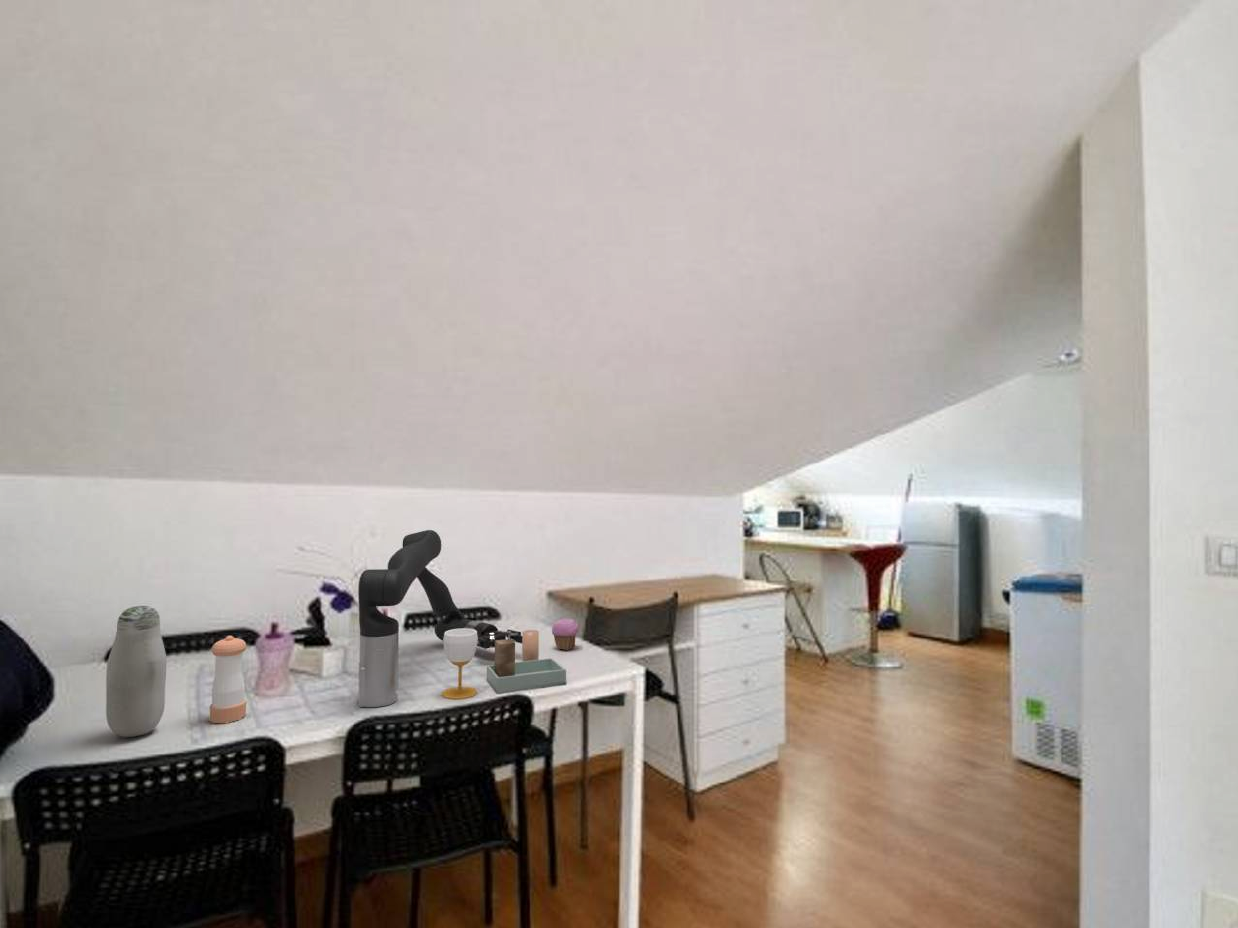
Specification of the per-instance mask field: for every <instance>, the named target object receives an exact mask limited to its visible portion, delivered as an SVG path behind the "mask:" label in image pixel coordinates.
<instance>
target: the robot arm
mask: <svg viewBox="0 0 1238 928" xmlns="http://www.w3.org/2000/svg"><path fill="white" fill-rule="evenodd" d="M441 551H442V539H441V537H440V535H439V533H438V532H436V530H432V529H427V530H422V531H418V532H414V533H410V534H406V535H405V536H404V537H403V538H402V547H401V548H399V549H398V550H397V551H395V553H394V554H392V556H391V557H390V559H389V561H388V562H387V569H383V568H382V569H380V568H379V569H377V568H375V569H374V568H373V569H366V570H364V571H362V573H361V574H360V576H359V581H358V585H357V586H358V587H357V588H358V590H357V593H358V617H359V618H358V624H359V662H358V694H357V695H358V699H357V700H358V707H359V708H364V707H365V708H366V707H367V708H378V707H385V706H388V705H392V704H395V702H397V701H398V696H399V639H400V638H399V632H400V631H399V630H400V629H399V628H400V625H399V621H398V620H397V619H396V618H394V617H392V616H388V615H386V614H385V613H382V612H381V611H380V610H379V609H378V607H394V606H397V605H399V604H400V603H402V602H403V600H404V598H405V596H406V595H407V592H408V591H409V589H410V587H411V585H412V584H413V583H414V581H415V580H416V579H417V581H419V583H420V585H421V587H422V588H423V590H424V592H425V594H426V597H427V599H428V602H429V604H430V608H431V610H432V611H433V614H434V615H435V616H437V617H443V616H444V618H442V619H441V620H439V621H438V622H437V623H436V624H435V626H434V633H435V636H436V637H437V638H438V639H439V640H441V641H443V638H444V633H445V632H446V631H448V630H452V629H463V628H466V629H474V630H476V631H477V636H478V640H477V647H478V648H482V649H485V650H487V649H495V641H496V640H506V639H511V640H513V641H514V642H515V643H519V644H522V631H517V630H512V629H506V631H502V630H499V629H498V627H497V626H496V625H494V624H492V623H487V622H483V621H480V620H473V619H472V620H471V619H466V617H465V616H464V614H463V613H462V612H461V611H460V610H459V608H458V607H457V606H456V604H455V603H454V601H453V597H452V595H451V591H450V589H449V587H448V586H447V584H445V582H444V581H443V580H442V579H440V577H438V576H436V575H435V574H433V572H431V571H430V570H429V569H428V568H427V566H428V564H430V563H431V562H432V561H433V560H435V559H436V558H437V557H439V555H440V553H441Z"/></svg>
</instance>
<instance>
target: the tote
mask: <svg viewBox="0 0 1238 928" xmlns="http://www.w3.org/2000/svg"><path fill="white" fill-rule="evenodd" d="M486 681H487V683H488V684H489V685H490V687H491V688H492V690H493V691H494V692H495V693H496V695H498V694H503V693H504V694H505V693H510V692H511V693H512V692H519V691H520V692H521V691H527V690H535V689H542V688H548V687H557V686H561V685H562V686H565V685H566V684H567V670H566V668H565V667H563V665H562V664H560V663H559V662H557V661H556V660H555V659H554V658H552V657H550V658H543V659H538V660H532V661H523V662H522V661H517V662H516V661H515V675H514V676H506V677H498V676H497V675H496V673H495V664H491V665H490V664H489V665H486Z"/></svg>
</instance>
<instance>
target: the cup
mask: <svg viewBox="0 0 1238 928" xmlns="http://www.w3.org/2000/svg"><path fill="white" fill-rule="evenodd" d="M477 640H478V636H477V631H476V630H474V629H466V628H463V629H452V630H448V631H446V632H445V633H444V638H443V651H444V655H445V657H446V659H447V660H448V661H449V662H450V663H451V664H452V665H453V666H455V667H458V686H456V687H451V688H448V689H446V690H444V691H443V692H442V697H443V698H445V699H449V700H464V699H469V698H472V697H474V696H476V695H477V694H478V689H476V688H474V687H471V686H462V683H463V682H462V681H463V680H462V679H463V676H462V675H463V673H462V672H463V666H465V665H467V664H468V663H470V662H471V661H472V660H473V658H474V656H475V654H476V651H477V647H478V646H477Z"/></svg>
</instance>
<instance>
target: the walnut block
mask: <svg viewBox="0 0 1238 928" xmlns="http://www.w3.org/2000/svg"><path fill="white" fill-rule="evenodd" d="M515 662H516V642H514V641H513V640H511V639H508V638H506V640H496V641H495V648H494V665H495V673H496V675H497V676H498V677H506V676H514V675H515Z"/></svg>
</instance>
